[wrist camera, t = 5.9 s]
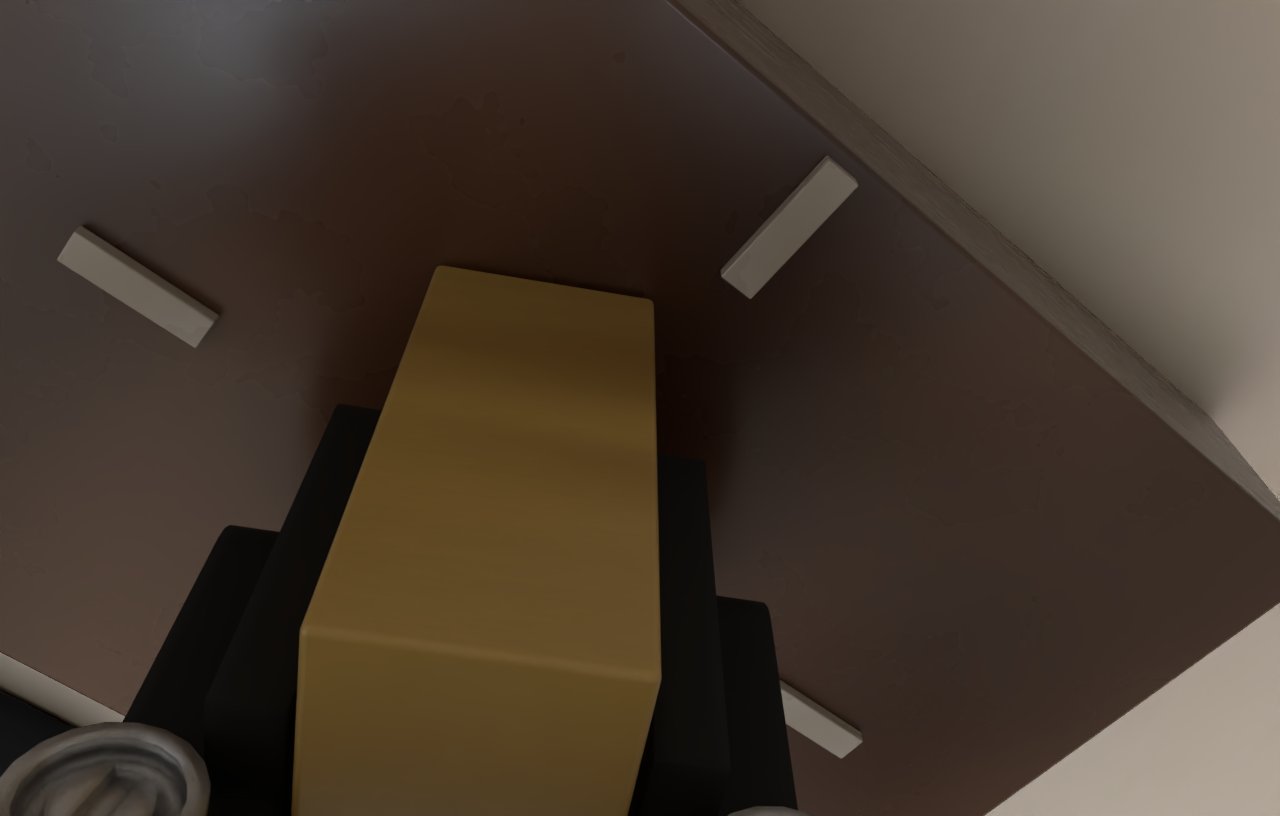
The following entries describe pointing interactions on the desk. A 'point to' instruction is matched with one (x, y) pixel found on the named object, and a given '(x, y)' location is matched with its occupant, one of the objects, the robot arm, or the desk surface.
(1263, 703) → the desk surface
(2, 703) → the black button base
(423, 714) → the lock knob
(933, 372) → the plate
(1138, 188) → the desk surface
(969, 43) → the desk surface
